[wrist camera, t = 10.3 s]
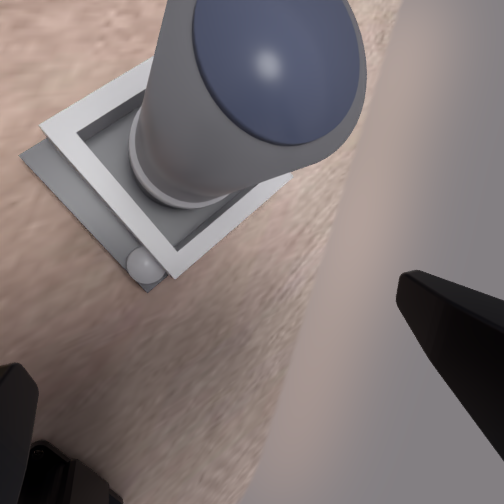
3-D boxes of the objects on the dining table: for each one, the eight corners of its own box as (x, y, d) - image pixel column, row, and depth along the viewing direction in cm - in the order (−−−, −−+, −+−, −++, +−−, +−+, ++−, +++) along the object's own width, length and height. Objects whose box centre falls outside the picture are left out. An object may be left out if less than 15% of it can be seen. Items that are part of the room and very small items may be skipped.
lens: (170, 231, 18) (270, 224, 7) (102, 149, 17) (88, -32, 5) (239, 176, 20) (412, 97, 8) (183, 96, 18) (304, -132, 7)
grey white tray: (145, 290, 19) (151, 299, 16) (23, 160, 16) (5, 144, 13) (285, 171, 22) (310, 162, 19) (203, 47, 19) (219, 16, 17)
